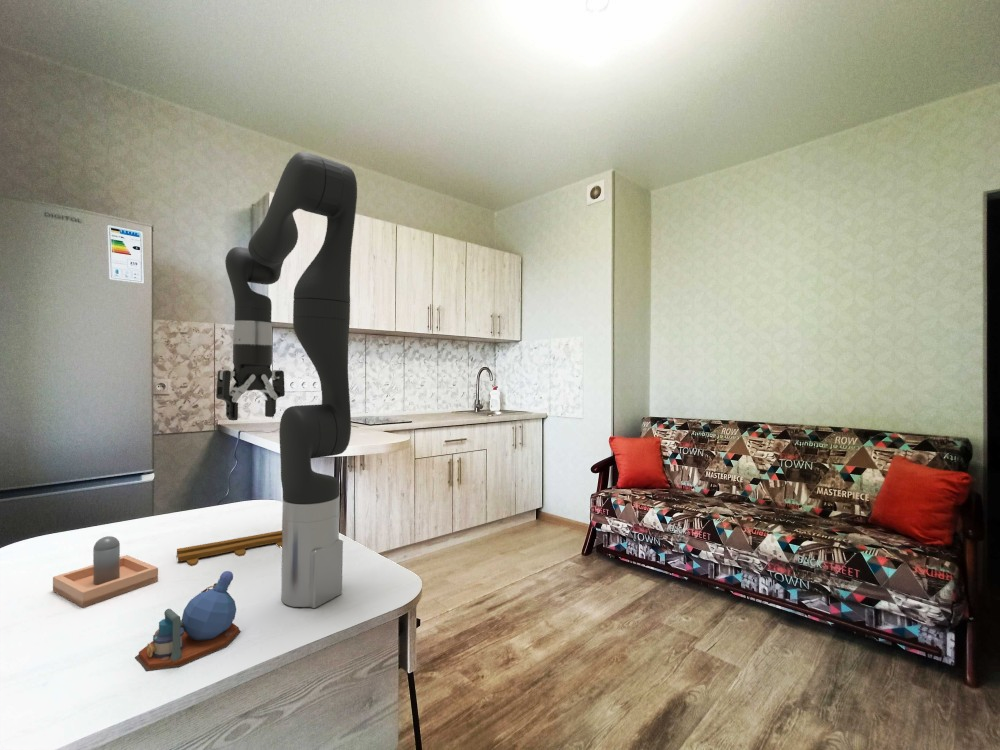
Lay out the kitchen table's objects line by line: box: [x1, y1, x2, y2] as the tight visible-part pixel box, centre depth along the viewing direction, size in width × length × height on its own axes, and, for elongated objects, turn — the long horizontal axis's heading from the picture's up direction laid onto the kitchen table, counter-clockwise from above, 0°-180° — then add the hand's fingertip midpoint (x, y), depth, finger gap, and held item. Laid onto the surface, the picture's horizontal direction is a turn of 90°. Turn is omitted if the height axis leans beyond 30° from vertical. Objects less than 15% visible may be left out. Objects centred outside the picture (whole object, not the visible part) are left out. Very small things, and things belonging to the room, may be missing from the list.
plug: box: [92, 535, 121, 585], centre depth 84 cm, size 4×4×8 cm
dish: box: [52, 554, 159, 608], centre depth 84 cm, size 11×11×2 cm
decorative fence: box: [176, 530, 282, 567], centre depth 104 cm, size 25×2×10 cm
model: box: [134, 570, 242, 672], centre depth 68 cm, size 12×9×9 cm
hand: (252, 418), depth 103 cm, fingers open, 8 cm apart
